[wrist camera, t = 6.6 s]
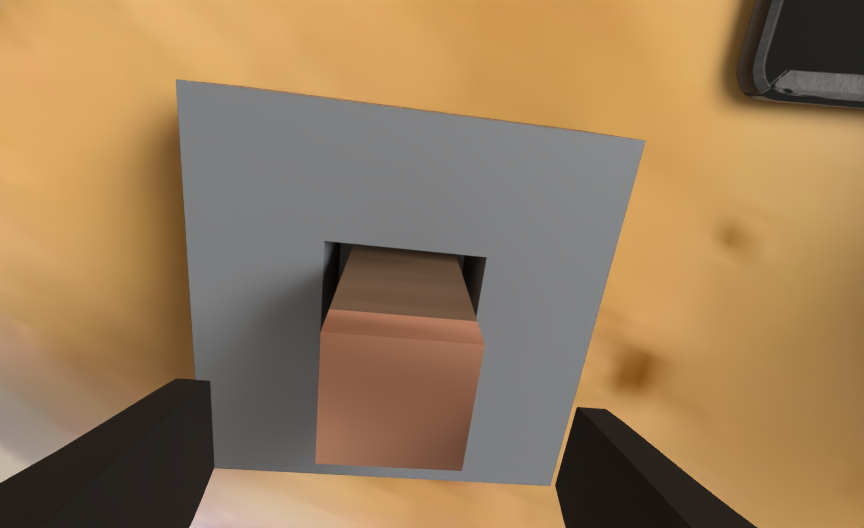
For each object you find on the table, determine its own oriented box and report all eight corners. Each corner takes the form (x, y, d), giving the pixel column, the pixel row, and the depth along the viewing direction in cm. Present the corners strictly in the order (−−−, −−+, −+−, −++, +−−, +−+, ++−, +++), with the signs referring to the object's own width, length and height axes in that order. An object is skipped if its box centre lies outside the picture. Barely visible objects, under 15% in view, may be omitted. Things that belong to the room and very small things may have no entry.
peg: (437, 311, 17) (462, 470, 10) (355, 304, 17) (315, 463, 10) (448, 233, 16) (484, 344, 9) (361, 224, 16) (320, 332, 8)
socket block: (522, 412, 20) (550, 485, 16) (242, 393, 18) (201, 467, 15) (588, 131, 16) (645, 141, 12) (235, 85, 14) (175, 79, 11)
